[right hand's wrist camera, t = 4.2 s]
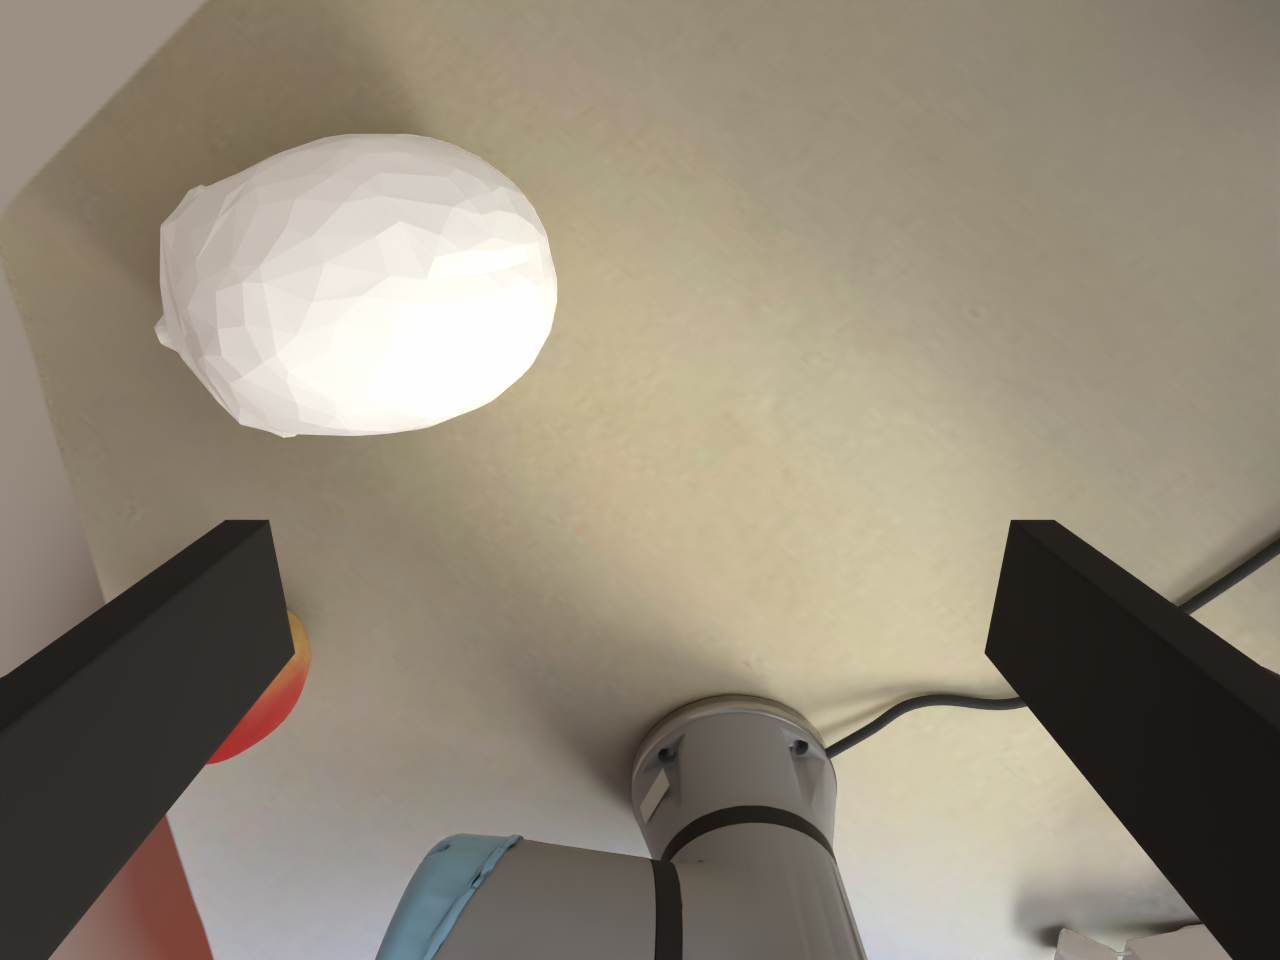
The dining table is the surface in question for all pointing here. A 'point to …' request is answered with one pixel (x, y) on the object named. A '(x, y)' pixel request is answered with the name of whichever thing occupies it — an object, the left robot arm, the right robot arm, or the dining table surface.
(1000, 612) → the right robot arm
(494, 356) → the skull
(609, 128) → the dining table surface
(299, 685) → the apple
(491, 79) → the dining table surface
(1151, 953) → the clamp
